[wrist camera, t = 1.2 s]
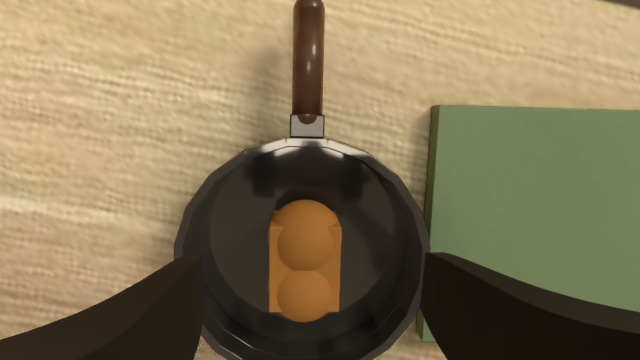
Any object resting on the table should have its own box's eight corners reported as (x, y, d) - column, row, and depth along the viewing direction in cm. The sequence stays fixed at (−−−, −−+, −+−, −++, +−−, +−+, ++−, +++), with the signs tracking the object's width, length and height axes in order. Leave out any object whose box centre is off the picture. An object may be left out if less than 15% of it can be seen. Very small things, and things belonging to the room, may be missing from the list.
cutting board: (692, 328, 26) (711, 338, 25) (416, 331, 24) (422, 342, 23) (734, 114, 23) (758, 113, 22) (431, 105, 22) (439, 104, 21)
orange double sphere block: (335, 299, 23) (343, 337, 19) (270, 299, 23) (263, 338, 19) (338, 193, 22) (347, 209, 18) (270, 192, 22) (264, 208, 18)
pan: (405, 345, 25) (421, 379, 21) (195, 348, 24) (178, 383, 20) (418, 138, 22) (438, 140, 19) (188, 132, 22) (168, 135, 18)
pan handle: (322, 137, 20) (324, 138, 19) (290, 136, 20) (289, 137, 19) (326, 0, 19) (328, -11, 18) (291, -1, 19) (291, -13, 18)
